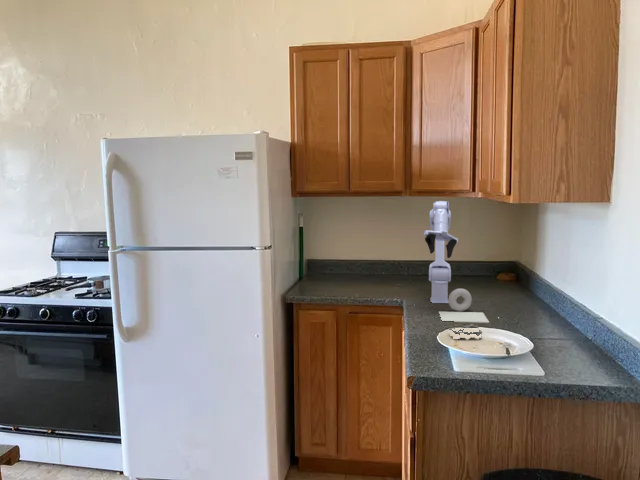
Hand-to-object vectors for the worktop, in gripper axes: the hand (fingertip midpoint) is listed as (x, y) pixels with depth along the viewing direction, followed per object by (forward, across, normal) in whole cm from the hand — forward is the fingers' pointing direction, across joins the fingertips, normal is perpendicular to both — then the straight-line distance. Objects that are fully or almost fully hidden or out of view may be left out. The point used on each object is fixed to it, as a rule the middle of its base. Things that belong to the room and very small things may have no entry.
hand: (440, 254), depth 198 cm
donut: (+15, +18, +17) cm, 29 cm away
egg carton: (+36, +5, -8) cm, 38 cm away
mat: (+20, +15, +10) cm, 27 cm away
